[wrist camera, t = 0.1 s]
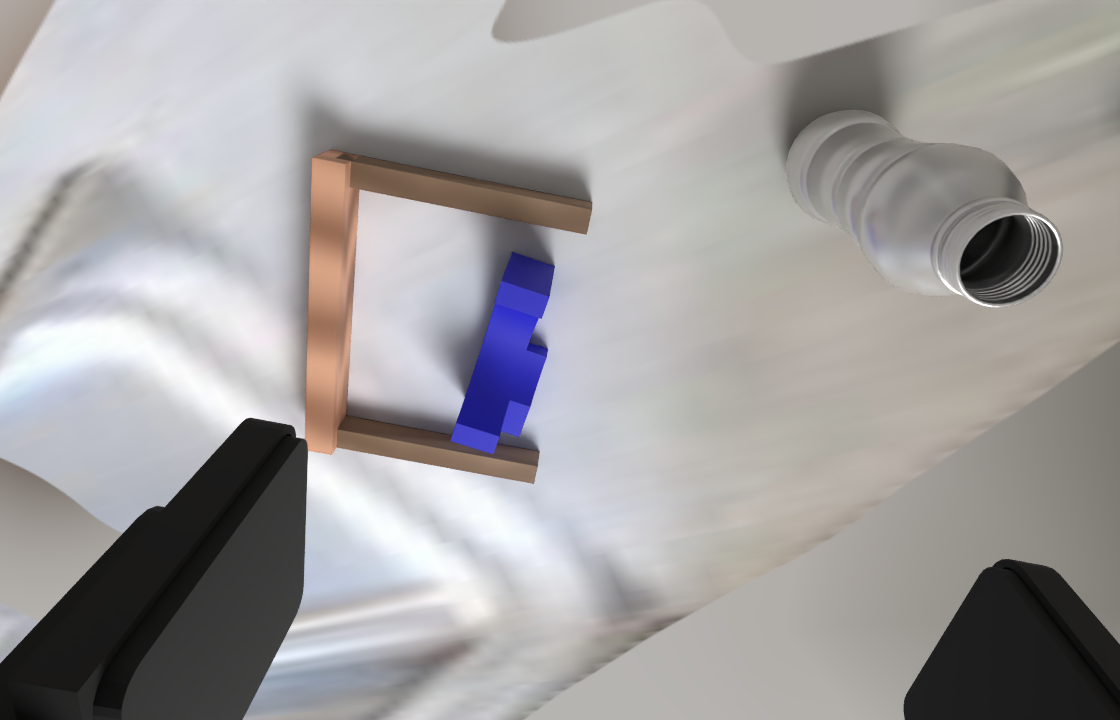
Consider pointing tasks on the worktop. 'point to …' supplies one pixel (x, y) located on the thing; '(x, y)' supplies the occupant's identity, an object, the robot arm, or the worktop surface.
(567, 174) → the worktop surface
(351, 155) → the guide channel
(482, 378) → the cable clip
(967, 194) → the plastic bottle
